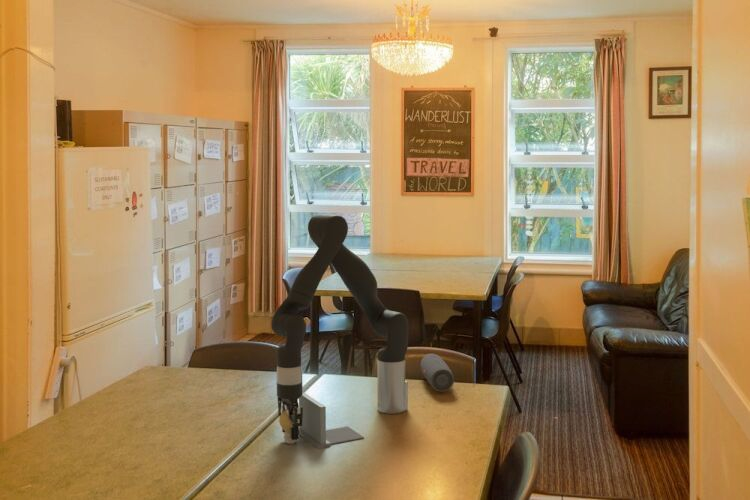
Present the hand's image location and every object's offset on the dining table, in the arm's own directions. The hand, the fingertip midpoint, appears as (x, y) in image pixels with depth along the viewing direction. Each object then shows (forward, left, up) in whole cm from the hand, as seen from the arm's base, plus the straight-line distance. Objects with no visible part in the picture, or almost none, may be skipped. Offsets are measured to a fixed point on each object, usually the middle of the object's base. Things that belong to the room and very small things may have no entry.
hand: (290, 435), depth 234 cm
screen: (-7, 0, -2) cm, 7 cm away
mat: (-15, +2, -2) cm, 15 cm away
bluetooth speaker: (-69, -28, -2) cm, 75 cm away
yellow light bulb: (0, 0, -2) cm, 2 cm away
